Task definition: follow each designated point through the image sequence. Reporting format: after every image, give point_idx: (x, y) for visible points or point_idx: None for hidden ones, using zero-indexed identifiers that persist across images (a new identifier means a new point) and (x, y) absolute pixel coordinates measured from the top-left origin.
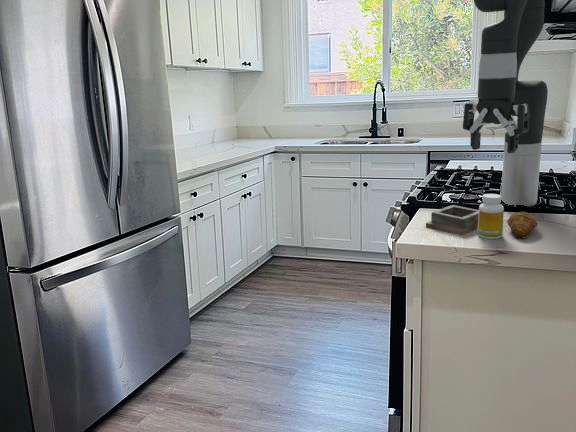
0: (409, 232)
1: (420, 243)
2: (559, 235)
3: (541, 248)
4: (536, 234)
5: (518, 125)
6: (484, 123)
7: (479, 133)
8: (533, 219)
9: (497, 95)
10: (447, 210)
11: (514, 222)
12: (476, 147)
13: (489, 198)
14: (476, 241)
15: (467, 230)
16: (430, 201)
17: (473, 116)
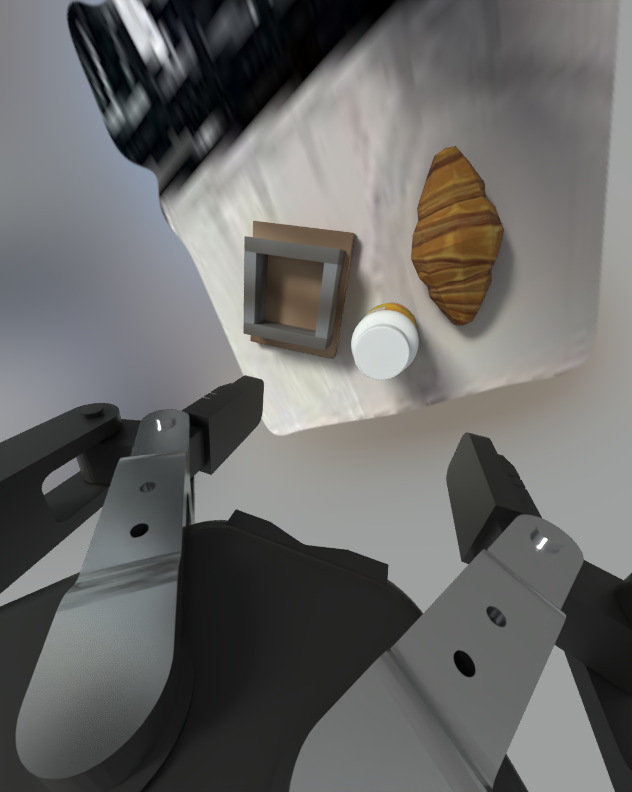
0: None
1: (296, 427)
2: (564, 222)
3: (518, 355)
4: None
5: (606, 727)
6: (189, 486)
7: (212, 430)
8: (493, 248)
9: None
10: (257, 285)
11: (440, 292)
12: (257, 412)
13: (381, 379)
14: None
15: (338, 334)
16: (135, 108)
17: (17, 489)
